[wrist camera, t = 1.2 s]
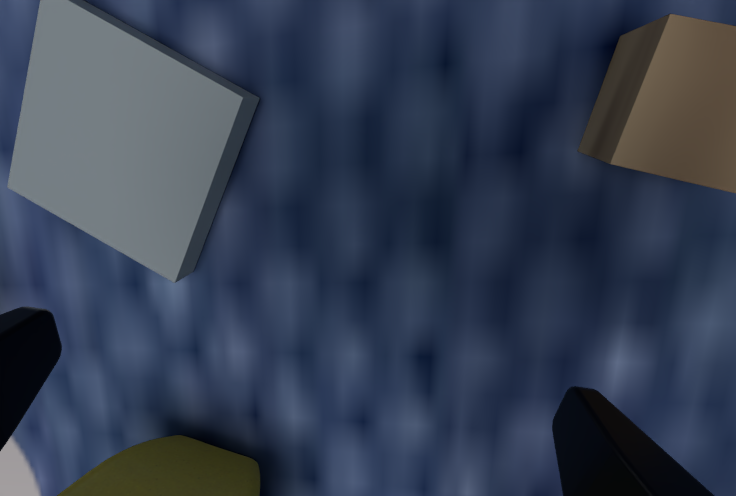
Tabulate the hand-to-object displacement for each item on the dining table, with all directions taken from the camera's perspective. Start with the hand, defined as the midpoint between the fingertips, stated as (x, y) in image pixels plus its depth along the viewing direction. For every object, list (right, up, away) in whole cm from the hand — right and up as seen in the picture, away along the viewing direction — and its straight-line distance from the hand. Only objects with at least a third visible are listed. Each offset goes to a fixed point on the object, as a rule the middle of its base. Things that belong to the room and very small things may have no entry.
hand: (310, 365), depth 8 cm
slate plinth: (-9, +7, +12) cm, 17 cm away
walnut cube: (+11, +7, +8) cm, 15 cm away
